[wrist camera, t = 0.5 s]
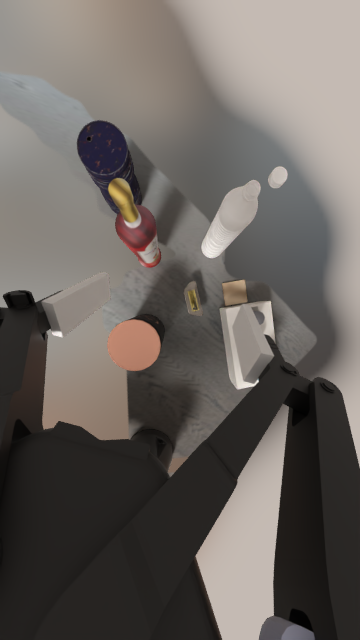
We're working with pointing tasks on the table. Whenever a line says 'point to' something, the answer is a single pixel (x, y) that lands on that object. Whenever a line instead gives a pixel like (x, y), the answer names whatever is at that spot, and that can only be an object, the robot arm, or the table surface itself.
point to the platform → (193, 299)
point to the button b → (259, 317)
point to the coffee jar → (136, 342)
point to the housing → (227, 322)
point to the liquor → (135, 224)
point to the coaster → (234, 292)
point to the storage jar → (107, 158)
